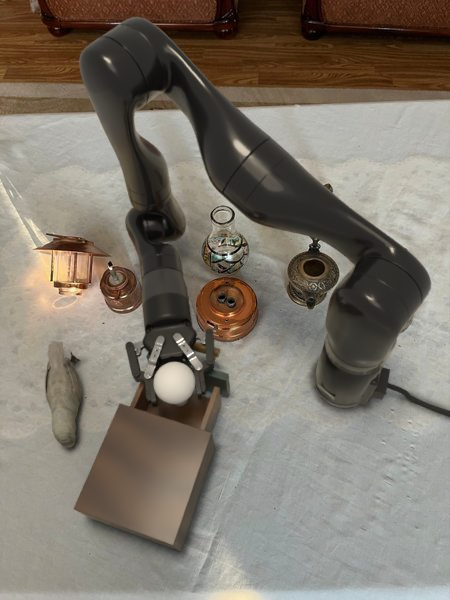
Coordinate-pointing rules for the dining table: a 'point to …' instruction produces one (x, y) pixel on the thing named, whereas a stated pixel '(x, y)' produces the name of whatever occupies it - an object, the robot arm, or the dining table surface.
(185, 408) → the drawer
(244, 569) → the dining table surface
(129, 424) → the cabinet
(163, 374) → the lightbulb
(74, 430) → the decorative bird
